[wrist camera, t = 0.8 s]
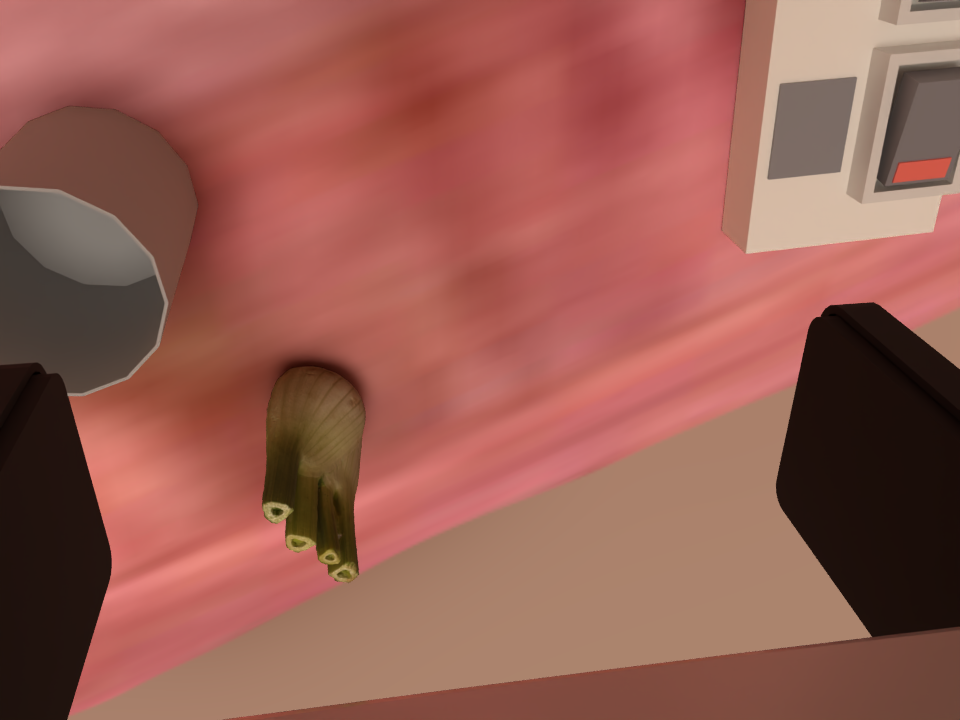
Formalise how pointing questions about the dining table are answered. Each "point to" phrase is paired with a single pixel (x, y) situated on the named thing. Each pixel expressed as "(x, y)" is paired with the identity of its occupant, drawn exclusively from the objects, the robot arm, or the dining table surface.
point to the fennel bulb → (315, 464)
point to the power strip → (829, 120)
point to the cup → (90, 244)
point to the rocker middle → (929, 0)
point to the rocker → (922, 128)
